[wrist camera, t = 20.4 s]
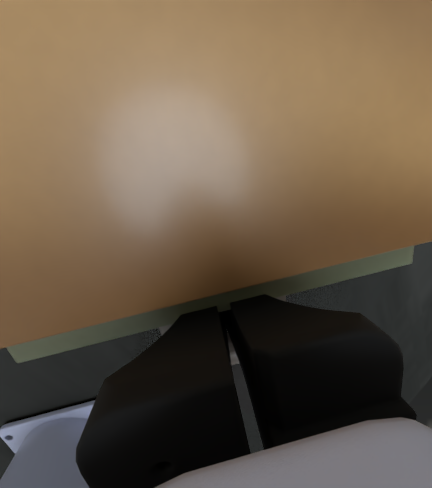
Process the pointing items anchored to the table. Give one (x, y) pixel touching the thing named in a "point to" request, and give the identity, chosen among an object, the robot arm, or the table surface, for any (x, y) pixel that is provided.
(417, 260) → the table surface
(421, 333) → the table surface
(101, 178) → the cabinet
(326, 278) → the drawer
